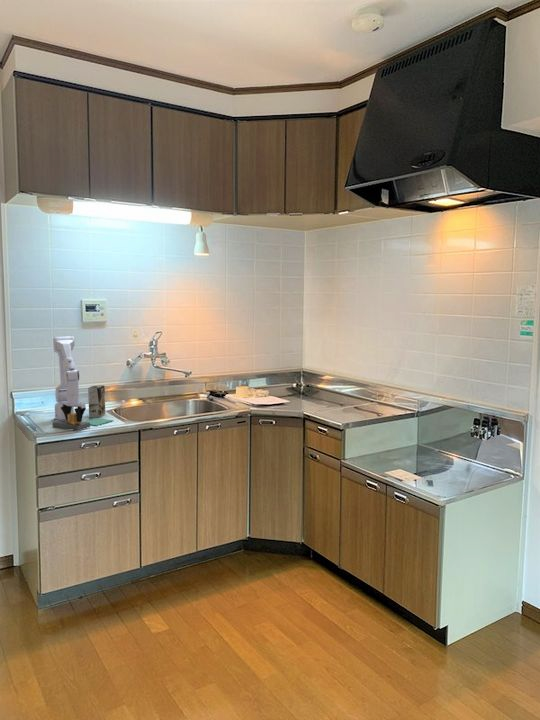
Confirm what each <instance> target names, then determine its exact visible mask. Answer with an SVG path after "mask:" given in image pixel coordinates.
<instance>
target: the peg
mask: <svg viewBox="0 0 540 720" xmlns="http://www.w3.org/2000/svg"><path fill="white" fill-rule="evenodd" d="M67 415H68V424H77V423H80V422H77V416H76V412H74V413H71V414H67Z"/></svg>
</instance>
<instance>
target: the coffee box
mask: <svg viewBox="0 0 540 720" xmlns="http://www.w3.org/2000/svg"><path fill="white" fill-rule="evenodd" d="M87 388H88V390H87V392H88V393H87V394H88V417H89V418H102V417H103V416H105V415H106V393H105V392H106V391H105V385H91V386H89V387H87Z"/></svg>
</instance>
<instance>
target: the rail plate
mask: <svg viewBox="0 0 540 720" xmlns="http://www.w3.org/2000/svg"><path fill="white" fill-rule="evenodd" d="M83 421H84V420H82V421H81V422H80V423H77V424H68V421H67V420H66V419H62V420H56V421H52V428H57V429H63V430H68V429H73V430H72V431H74V430H79V431H81V430H80V429H83V428H86V429H88V428H87V427H89V428H91V425H90V422H83ZM83 430H84V429H83Z"/></svg>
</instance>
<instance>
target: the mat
mask: <svg viewBox="0 0 540 720" xmlns="http://www.w3.org/2000/svg"><path fill="white" fill-rule="evenodd" d="M82 421H83V422H90V426H91V425H92V427H99V426H98V425H100V426H103V425H106V424H110V423H113V422H114V420H113V419H106V418H102V417H93V418H89V419H87V420H82ZM112 421H113V422H112ZM109 422H110V423H109ZM102 424H103V425H102Z"/></svg>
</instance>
